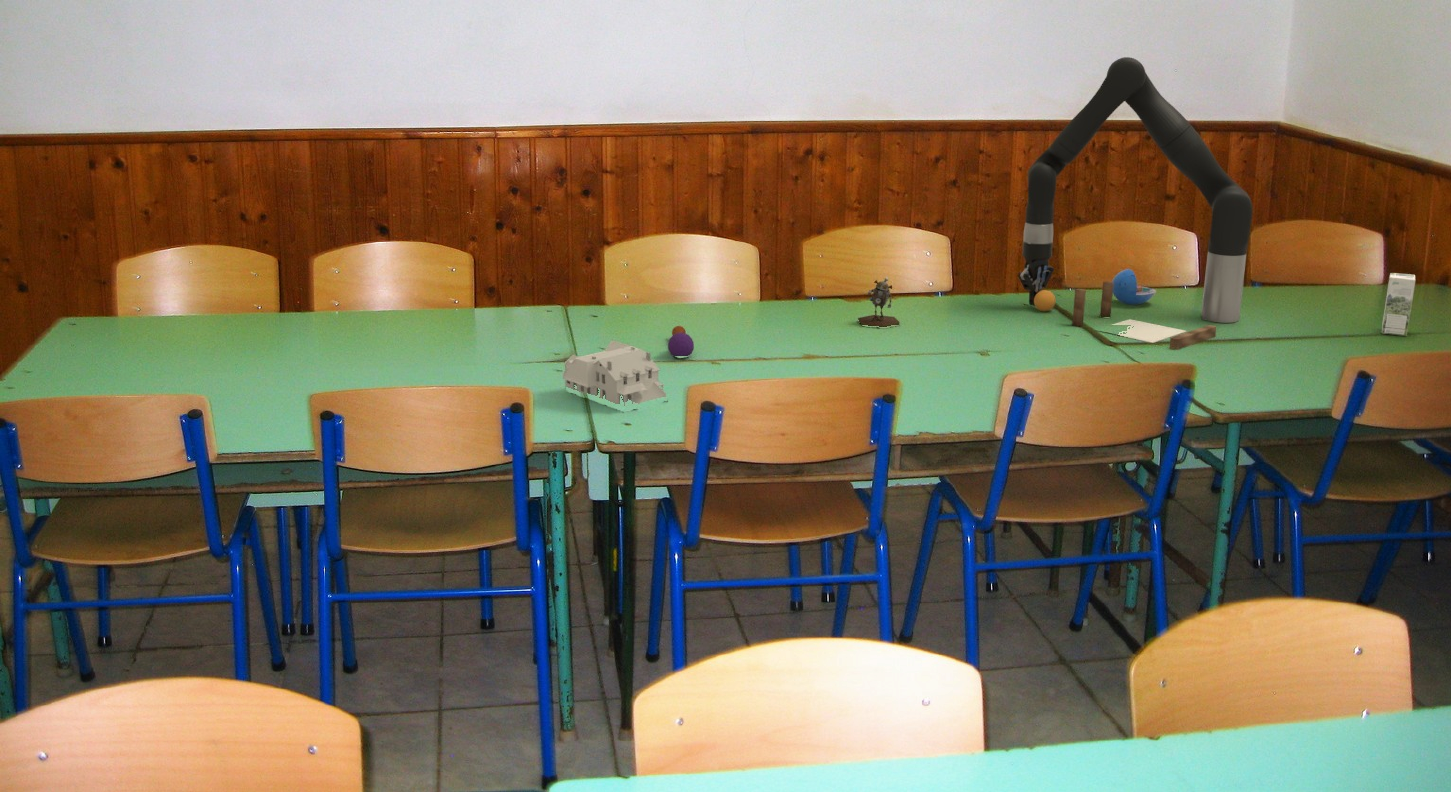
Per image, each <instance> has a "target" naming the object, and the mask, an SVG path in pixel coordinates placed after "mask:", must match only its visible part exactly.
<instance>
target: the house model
mask: <svg viewBox="0 0 1451 792" xmlns="http://www.w3.org/2000/svg"><path fill="white" fill-rule="evenodd" d="M563 363H564V371H563V372H562V379H563V380H564V381H565V382H564V383H565V388H566V387H568V388H571V389H573V390H577V391H579V392H581V393H588V394H591V395H595V396H597V395H598V393H599V392H598V391H599V390H598V388H599V389H600V397H599V398H602V399H603V396H604V395H605V399H606V400H608V401H610V402H613V403H615V404H620V396H621V395H622V396H623V399H622V400H623V402H624V406H625V402H627V401H628V399H629V400H631V401H632V404H633V402H635V403H638V404H640V403H642V402H645V401H649V400H653V399H657V398H661V397H667V393H666V392H665V390H664V386H665V385H666V384H665V383H663V382H660V381H659V371H661V369H660V368H659V366H658V365H657V364H656V363H655V362H654V361H653V360H652V358H651V352H649V351H645V350H643V349H641V348H637V347H636V346H632V345H630V344H625V343H623V342H619V341H616V340H613V339H612V340H611V341H610V342H609V344H608V345H607V346H606V348H605V350H604V351H599V352H595V353H591V354H586V355H581V356H579V355H576V354H572V355H571V356H570V357H569V358H568V359H567V360H566V361H565V362H563ZM574 385H576V386H577V389H575V388H574V387H575V386H574ZM621 398H622V397H621Z"/></svg>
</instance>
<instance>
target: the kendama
mask: <svg viewBox="0 0 1451 792" xmlns="http://www.w3.org/2000/svg"><path fill="white" fill-rule="evenodd" d="M667 349H668V352H669V354H670V355H671V356H672V355H674V356H688V355H690V354H691V355H692V353H693V351H694V349H695V345H694V341H693V338H692V337H691V336H690V335H689V334H688V333H686V329H685V328H684V326H680V325H676V326H674V328H672V331H671V337H670V338H669V339H668V342H667ZM691 355H690V356H691Z"/></svg>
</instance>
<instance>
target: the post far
mask: <svg viewBox="0 0 1451 792" xmlns="http://www.w3.org/2000/svg"><path fill="white" fill-rule="evenodd" d="M1113 284H1114V283H1113V282H1112V281H1103V282H1102V290H1101V302H1100V314H1099V317H1100V316H1101V317H1100V318H1102V317H1110V318H1111V317H1112V306H1113V305H1112V304H1113V295H1114V294H1113Z"/></svg>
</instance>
